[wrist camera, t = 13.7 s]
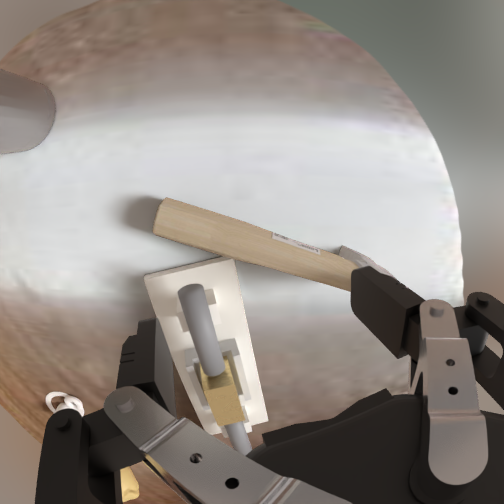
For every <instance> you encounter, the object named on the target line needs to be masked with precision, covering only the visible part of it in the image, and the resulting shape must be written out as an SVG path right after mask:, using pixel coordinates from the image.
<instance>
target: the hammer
mask: <svg viewBox="0 0 504 504" xmlns="http://www.w3.org/2000/svg"><path fill="white" fill-rule="evenodd" d="M152 231H153V233H154V234H155V235H157V236H160V237H163V238H167V239H170V240H173V241H176V242H179V243H183V244H186V245H189V246H192V247H195V248H199V249H202V250H205V251H208V252H212V253H215V254H218V255H221V256H225V257H228V258H231V259H235V260H239V261H243V262H248V263H252V264H257V265H261V266H266V267H269V268H272V269H276V270H279V271H282V272H286V273H289V274H293V275H296V276H299V277H303V278H306V279H310V280H313V281H317V282H320V283H324V284H327V285H330V286H334V287H337V288H340V289H343V290H346V291H350V292H351V273H352V271H353V270H354V269H358V268H361V267H365V266H371V267H373V268H374V269H376V270H377V271H378V272H380V273H383V274H386V275H389V276H392V277H393V278H395V277H394V276H393V275H391V274H390V273H389V272H388V271H387V270H386V269H384V268H383V267H381V266H379V265H377V264H376V263H375V262H374V261H373V260H371V259H370V258H369V257H367V256H365V255H363V254H361V253H359V252H356V251H354V250H352V249H350V248H347V247H345V246H343V245H342V247H341V250H340V252H339V256H338V255H336V254H333V253H330V252H327V251H324V250H321V249H318V248H315V247H312V246H309V245H307V244H304V243H301V242H298V241H295V240H292V239H289V238H286V237H284V236H281V235H279V234H276V233H273V232H271V231H268V230H265V229H263V228H260V227H257V226H254V225H252V224H249V223H246V222H243V221H240V220H237V219H234V218H231V217H228V216H225V215H222V214H218V213H215V212H212V211H209V210H206V209H202V208H199V207H196V206H193V205H190V204H186V203H183V202H180V201H177V200H173V199H170V198H167V197H166V198H165V199H164V200H163V201H162V202H161V203H160V205H159V206H158V209H157V212H156V216H155V219H154V224H153V230H152ZM340 256H341V257H340ZM395 279H396V278H395ZM396 280H397V279H396ZM406 288H408V287H406Z"/></svg>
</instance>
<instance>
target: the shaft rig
mask: <svg viewBox="0 0 504 504" xmlns="http://www.w3.org/2000/svg"><path fill="white" fill-rule="evenodd" d="M144 282H145V285H146V288H147V291H148V294H149V297H150V300H151V303H152V306H153V309H154V312H155V314H156V317H157V318H158V319H159V322H160V324H161V327H162V330H163V333H164V336H165V339H166V341H167V344H168V347H169V350H170V353H171V356H172V359H173V361H174V364H175V366H176V368H177V371H178V373H179V375H180V378H181V380H182V382H183V385H184V387H185V389H186V392H187V394H188V396H189V398H190V400H191V403H192V405H193V407H194V409H195V411H196V413H197V416H198V418H199V420H200V422H201V424H202V426H203V428H204V430H205V431H206V432H208V433H209V434H211V435H213V434H217V433H222V434H223V436H224V438H227V437H229V439H230V441H231V443H232V446H233V448H234V450H236V451H237V452H239V453H241V454H242V455H244V456H246V455H247V454H248V453H249V452H250V451H252V448H251V445H250V442H249V439H248V436H247V433H248V432H252V429H251V425H255V424H259V423H262V422H266V421H268V417H267V412H266V408H265V403H264V399H263V394H262V390H261V385H260V381H259V376H258V372H257V367H256V362H255V358H254V353H253V348H252V344H251V339H250V334H249V330H248V325H247V320H246V315H245V311H244V306H243V301H242V296H241V291H240V286H239V281H238V276H237V271H236V266H235V261H234V259H231V258H228V257H225V256H223V257H219V258H215V259H211V260H206V261H202V262H198V263H194V264H190V265H185V266H181V267H177V268H173V269H168V270H164V271H160V272H156V273H152V274H147V275H145V276H144ZM223 356H227V358H228V362H229V365H230V369H231V372H232V375H233V379H234V382H235V385H236V389H237V392H238V395H239V399H240V402H241V406H242V410H243V413H244V416H245V421H241V422H237V423H233V424H228V425H224V426H220V427H218V425H217V422H216V420H215V418H214V415H213V413H212V411H211V408H210V406H209V404H208V401H207V399H206V396H205V394H204V391H203V385H202V378H201V371H200V364H201V366H202V369H203V372H204V374H206V375H207V376H217V375H219V374H221V373H222V372H223V371H224V370H225V363H224V360H223ZM199 362H200V364H199Z"/></svg>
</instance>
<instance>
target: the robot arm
mask: <svg viewBox="0 0 504 504" xmlns="http://www.w3.org/2000/svg"><path fill="white" fill-rule="evenodd" d="M54 118H55V101H54V97H53V95H52V93H51V91H50V90H49V89H48V88H47V87H46V86H45V85H43V84H41V83H38V82H35V81H33V80H30V79H28V78H25V77H22V76H19V75H17V74H14V73H11V72H8V71H5V70H2V69H0V154H4V153H13V152H20V151H27V150H30V149H33V148H34V147H36V146H37V145H39V144H40V143H41V142H42V141H43V140H44V139H45V138H46V136H47V135H48V133H49V131H50V129H51V127H52V125H53V122H54ZM351 307H352V310H353V312H354V314H355V315H356V316H357V318H358V319H359V320H360V321H361V322H362V323H363V324H364V325H365V326H366V327H367V328H368V329H369V330H370V331H371V332H372V333H373V334H374V335H375V336H376V337H377V338H378V339H379V340H380V341H381V342H382V343H383V344H384V345H385V346H386V347H387V348H388V349H389V350H390V351H391V353H392V354H393V355H394V356H395V357H396V358H397V359H399V358H402V357H404V356H406V355H408V354H409V355H410V360H409V377H408V394H401V395H393V396H392V395H391V394H390V393H389V391H388V390H387V389H383V390H381V391H379V392H377V393H375V394H372V395H370V396H368V397H366V398H363V399H361V400H359V401H357V402H356V403H355V404H353V405H352V406H350V407H349V408H347V409H346V410H345V411H343V412H342V413H340V414H339V415H337V416H336V417H334V418H332V419H329V420H322V421H315V422H308V423H300V424H294V425H291V426H287V427H284V428H281V429H278V430H274V431H271V432H267V433H264V434H262V437H263V442H264V443H263V444H262V445H260V446H258V447H256V448H255V449H253V450H252V451H250V452H249V453H248V454H247V455H246V456H244V455H242V454H241V453H239V452H237V451H236V450H234V449H233V448H231V447H229V446H228V445H226V444H225V443H223V442H221V441H220V440H218V439H217V438H215V437H214V436H212V435H211V434H209V433H208V432H206V431H205V430H203V429H202V428H200V427H199V426H197V425H196V424H195V423H193V422H192V421H190V420H189V419H187V418H185V417H182V418H180V419H179V420H178V419H177V415H176V403H175V391H174V377H173V362H172V357H171V353H170V350H169V347H168V344H167V341H166V339H165V336H164V333H163V330H162V327H161V324H160V322H159V319H158V318H152V319H148V320H143V321H139V323H138V330H137V335H133V336H129V337H128V339H127V340H126V341H125V343H124V344H123V347H122V353H121V355H122V356H121V359H120V365H119V372H118V379H117V386H116V390H114V391H113V392H111V393H110V394H109V395H108V396H107V398H106V399H105V402H104V408H102V409H101V410H98V411H96V412H93V413H91V414H88V415H85V416H83V417H82V416H81V414H80V413H79V412H78V411H77V410H75V409H71V408H66V409H62V410H59V411H57V412H56V413H54V414H53V415H52V416H51V417H50V418H49V420H48V422H47V424H46V429H45V434H44V439H43V444H42V451H41V457H40V463H39V470H38V478H37V487H36V497H35V504H123V500H122V488H121V471H120V470H121V469H123V468H126V467H129V466H131V465H134V464H136V463H139V462H141V461H142V462H143V463H144V464H145V465H146V466H147V467H148V468H149V469H150V470H151V471H152V472H154V473H155V474H156V475H157V476H158V477H159V478H160V479H161V480H162V481H163V482H164V483H166V484H167V485H168V486H169V487H170V488H171V489H172V490H174V491H175V492H176V493H177V494H178V495H179V496H180V497H181V498H182V499H183V500H184V501H186V502H187V503H188V504H504V415H501V414H496V413H491V412H486V411H482V410H479V402H478V394H477V387H476V381H477V382H478V383H479V384H480V385H481V386H482V387H483V388H484V389H485V390H486V391H487V393H488V394H489V395H490V396H491V397H492V398H493V399H494V400H495V401H496V402H497V403H498V404H499V405H500V406H501V407H502V409H503V410H504V304H503V303H501V302H500V301H499V300H497V299H496V298H494V297H493V296H491V295H489V294H487V293H483V292H475V293H471V294H470V295H469V296H468V298H467V302H466V306H460V307H455V308H453V307H452V306H451V305H450V304H449V303H447V302H445V301H443V300H438V299H431V300H427V301H426V300H424V299H423V298H421V297H420V296H419V295H417V294H416V293H415V292H413V291H412V290H410V289H409V288H406V286H405V285H403V284H402V283H401V284H400V282H399V281H398V280H396V279H395V278H393V277H392V276H389V275H386V274H383V273H380V272H378V271H377V270H376V269H374V268H373V267H371V266H365V267H361V268H358V269H354V270H353V271H352V273H351ZM489 334H490V335H491V336H492V337H493V338H495V339H496V340H497V341H498V342H499V343H500V344H501V345H502V348H503V355H502V358H501V359H500V358H499V357H498V356H497V355H496V354H495V353H494V352H493V351H492V350H490V349H489V348H488V347H487V346H486V345H485V344H486V341H487V338H488V335H489Z"/></svg>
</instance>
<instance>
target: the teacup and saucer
mask: <svg viewBox="0 0 504 504" xmlns="http://www.w3.org/2000/svg"><path fill="white" fill-rule="evenodd" d="M54 396H63V397H65V399H64V402H65V403H60V404H59V405H58V407H57V409H56V410H55V409H54V407H53V406H52V404H51V399H52V398H53V397H54ZM46 404H47V406H48V407H49V409H50V410H51V411H52V412H53V413H56V412H57V411H59V410H62V409H66V408H71V409H75V410H77V411H78V412H79V413H80V414H81V416H82V417H83V415H84V409H83V404H82V402H81V401H80V400H79V399H78V398H76V397H74V396H70V395H68V394H65V393H62V392H51V393H49V394H47V396H46Z"/></svg>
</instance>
